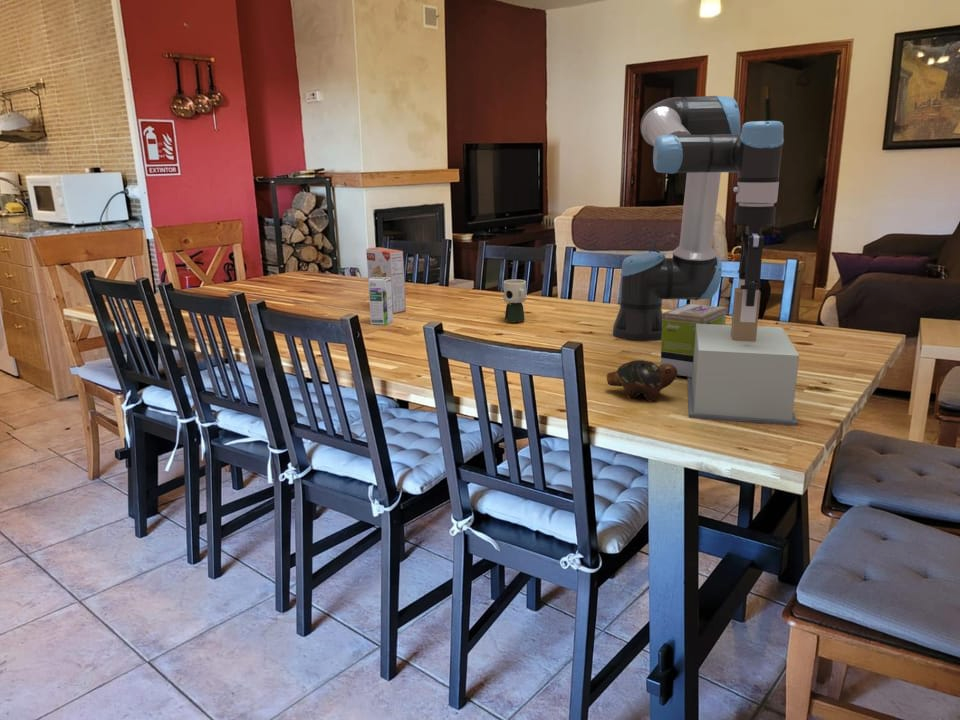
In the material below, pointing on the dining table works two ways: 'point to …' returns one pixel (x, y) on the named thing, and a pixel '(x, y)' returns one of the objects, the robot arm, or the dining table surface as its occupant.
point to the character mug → (514, 299)
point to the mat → (732, 418)
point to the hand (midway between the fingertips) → (745, 315)
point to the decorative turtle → (642, 378)
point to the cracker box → (389, 272)
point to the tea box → (685, 333)
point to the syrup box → (380, 300)
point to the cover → (744, 368)
